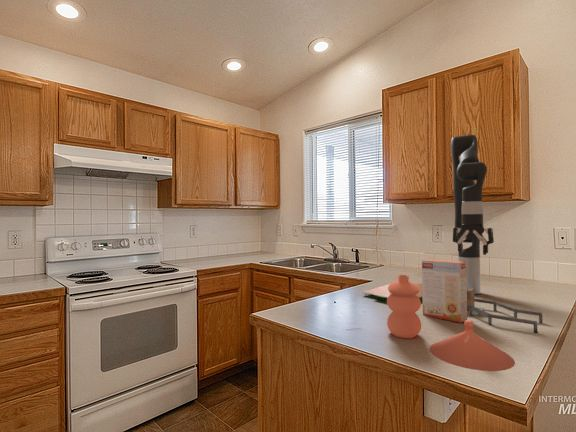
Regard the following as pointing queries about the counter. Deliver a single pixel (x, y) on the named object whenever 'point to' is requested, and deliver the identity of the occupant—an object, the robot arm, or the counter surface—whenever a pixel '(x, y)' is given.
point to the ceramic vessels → (453, 350)
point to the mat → (475, 312)
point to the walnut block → (470, 297)
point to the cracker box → (444, 289)
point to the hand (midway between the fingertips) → (472, 253)
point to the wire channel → (506, 316)
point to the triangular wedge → (385, 293)
